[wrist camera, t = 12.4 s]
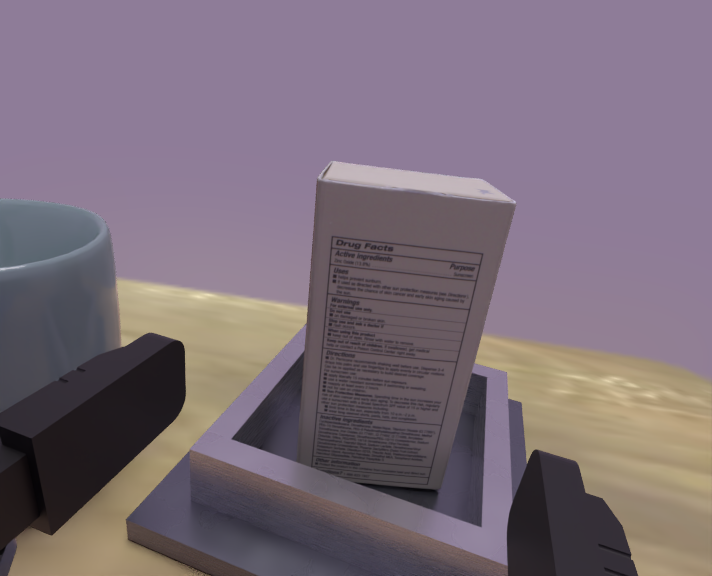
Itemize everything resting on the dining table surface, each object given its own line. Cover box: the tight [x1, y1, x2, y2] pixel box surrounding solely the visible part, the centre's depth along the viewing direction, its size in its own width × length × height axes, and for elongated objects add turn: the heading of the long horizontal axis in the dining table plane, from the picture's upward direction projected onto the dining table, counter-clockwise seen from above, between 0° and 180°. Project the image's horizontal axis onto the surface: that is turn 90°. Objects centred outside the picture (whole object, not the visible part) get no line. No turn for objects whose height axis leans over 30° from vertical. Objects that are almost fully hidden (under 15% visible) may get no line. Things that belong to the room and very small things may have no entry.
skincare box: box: [296, 161, 516, 490], centre depth 17 cm, size 6×4×12 cm
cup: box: [0, 199, 122, 413], centre depth 16 cm, size 8×8×10 cm
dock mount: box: [126, 323, 527, 576], centre depth 19 cm, size 14×14×4 cm
